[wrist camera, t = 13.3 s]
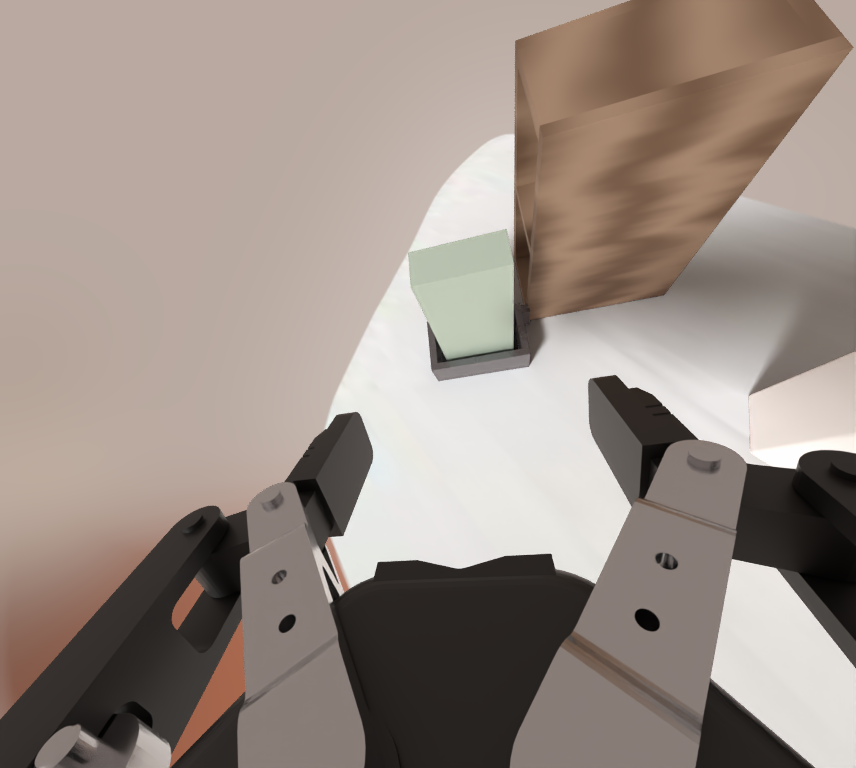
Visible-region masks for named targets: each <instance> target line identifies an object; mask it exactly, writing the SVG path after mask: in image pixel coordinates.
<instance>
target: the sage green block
mask: <svg viewBox="0 0 856 768" xmlns="http://www.w3.org/2000/svg"><path fill="white" fill-rule="evenodd" d="M408 257H409V270H410V283H411V288H412V290H413V292H414V294H415V296H416V298H417V300H418V302H419V305H420V307H421V309H422V311H423V313H424V315H425V317H426V319H427V321H428V323H429V325H430V327H431V329H432V331H433V333H434V335H435V337H436V339H437V341H438V343H439V345H440V347H441V349H442V351H443V353H444V355H445V357H446V359H447V361H454V360H460V359H466V358H472V357H477V356H483V355H489V354H495V353H501V352H506V351H512V350H513V336H514V262H513V258H512V253H511V248H510V243H509V238H508V233H507V229H505V230H501V231H496V232H492V233H488V234H484V235H480V236H476V237H472V238H467V239H463V240H459V241H455V242H451V243H447V244H443V245H438V246H434V247H430V248H426V249H422V250H418V251H414V252H409V253H408Z"/></svg>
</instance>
